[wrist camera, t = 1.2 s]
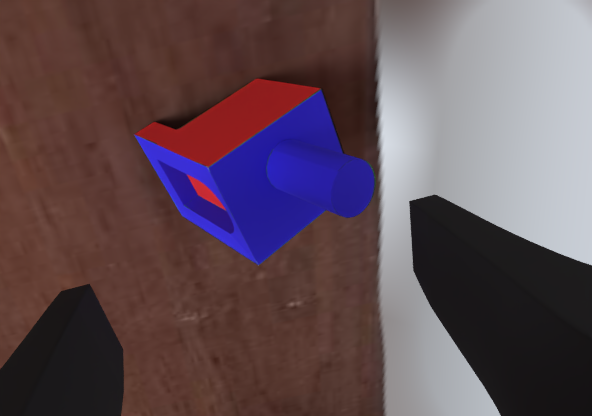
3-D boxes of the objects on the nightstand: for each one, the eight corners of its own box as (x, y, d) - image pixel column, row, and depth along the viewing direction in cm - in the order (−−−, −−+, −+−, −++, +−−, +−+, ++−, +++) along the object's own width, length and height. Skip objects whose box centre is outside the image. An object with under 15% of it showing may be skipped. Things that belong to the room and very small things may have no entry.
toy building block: (266, 155, 21) (422, 210, 15) (181, 216, 19) (317, 304, 13) (230, 74, 19) (393, 99, 13) (132, 135, 17) (267, 195, 11)
